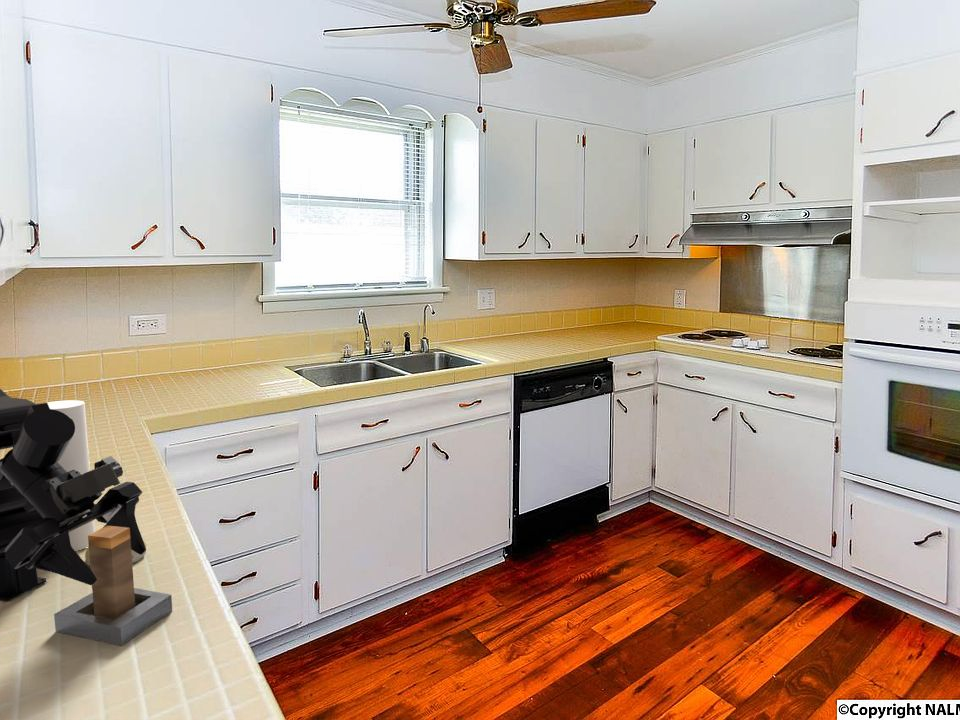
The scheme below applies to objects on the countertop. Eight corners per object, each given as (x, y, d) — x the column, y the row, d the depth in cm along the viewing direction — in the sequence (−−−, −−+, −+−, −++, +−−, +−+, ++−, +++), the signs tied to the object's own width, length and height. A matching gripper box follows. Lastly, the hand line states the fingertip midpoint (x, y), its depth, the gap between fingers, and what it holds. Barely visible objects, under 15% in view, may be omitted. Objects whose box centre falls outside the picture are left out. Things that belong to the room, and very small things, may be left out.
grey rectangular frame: (55, 631, 89) (54, 614, 89) (110, 599, 98) (109, 583, 97) (121, 645, 86) (120, 627, 86) (172, 611, 94) (171, 594, 94)
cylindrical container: (92, 550, 114) (80, 407, 110) (43, 556, 111) (29, 410, 108) (98, 534, 121) (87, 399, 117) (52, 539, 118) (40, 401, 114)
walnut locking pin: (95, 626, 90) (87, 535, 88) (114, 613, 94) (107, 525, 92) (117, 629, 90) (110, 538, 88) (136, 616, 93) (129, 527, 91)
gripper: (15, 465, 80) (101, 561, 79) (126, 427, 98) (197, 505, 97) (-33, 522, 83) (51, 615, 82) (84, 475, 101) (153, 551, 100)
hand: (120, 566), depth 90 cm, fingers open, 9 cm apart
